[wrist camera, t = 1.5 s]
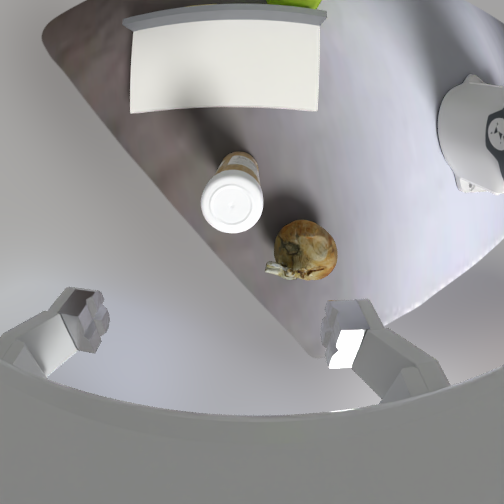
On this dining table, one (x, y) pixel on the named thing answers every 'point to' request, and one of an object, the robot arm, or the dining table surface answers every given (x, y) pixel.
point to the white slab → (225, 57)
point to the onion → (303, 252)
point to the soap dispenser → (296, 3)
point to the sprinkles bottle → (233, 194)
